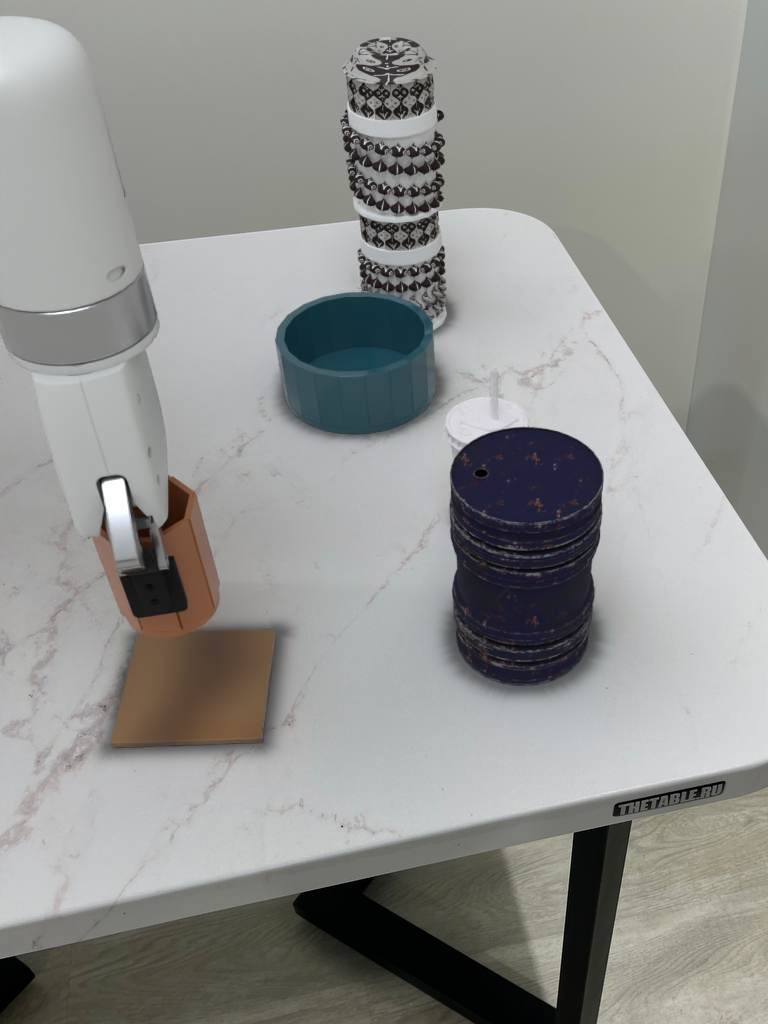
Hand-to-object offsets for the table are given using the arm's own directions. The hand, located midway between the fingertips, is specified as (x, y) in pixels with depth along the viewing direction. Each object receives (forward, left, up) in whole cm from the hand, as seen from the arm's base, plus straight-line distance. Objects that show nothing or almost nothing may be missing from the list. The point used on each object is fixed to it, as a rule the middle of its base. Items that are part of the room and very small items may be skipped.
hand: (160, 569), depth 65 cm
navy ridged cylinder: (+23, +4, -12) cm, 26 cm away
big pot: (+10, +36, -11) cm, 39 cm away
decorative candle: (+14, +49, -12) cm, 52 cm away
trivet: (0, 0, -11) cm, 11 cm away
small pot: (0, 0, -3) cm, 3 cm away
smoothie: (+21, +17, -12) cm, 29 cm away
